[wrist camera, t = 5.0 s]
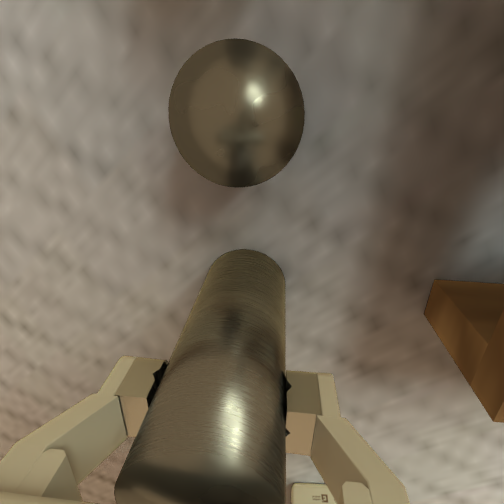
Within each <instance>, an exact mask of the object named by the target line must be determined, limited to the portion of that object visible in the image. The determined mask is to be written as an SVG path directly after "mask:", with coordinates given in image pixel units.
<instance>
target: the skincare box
mask: <svg viewBox="0 0 504 504" xmlns="http://www.w3.org/2000/svg"><path fill="white" fill-rule="evenodd" d="M291 504H337V503H336V501H335V499H334V497H333V496H332V494H331V492H330V491H329V489H328V487H327V485H326V484H309V483H295V484H293V486H292V489H291Z"/></svg>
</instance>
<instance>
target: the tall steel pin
mask: <svg viewBox="0 0 504 504" xmlns="http://www.w3.org/2000/svg"><path fill="white" fill-rule="evenodd" d="M285 377H286V364H285V278H284V275H283V273H282V270H281V269H280V267H279V266H278V265H277V263H276V262H275V261H274V260H272V259H271V258H270V257H268V256H267V255H265V254H263V253H260V252H258V251H254V250H247V249H240V250H234V251H230V252H228V253H225V254H224V255H222V256H221V257H219V258H218V259H217V260H216V261H215V262H214V263H213V265H212V266H211V268H210V270H209V272H208V274H207V277H206V279H205V281H204V284H203V286H202V288H201V290H200V293H199V295H198V297H197V299H196V302H195V304H194V306H193V308H192V311H191V313H190V315H189V318H188V320H187V322H186V324H185V327H184V329H183V331H182V333H181V336H180V338H179V340H178V342H177V345H176V347H175V349H174V352H173V354H172V356H171V358H170V361H169V363H168V365H167V367H166V370H165V372H164V374H163V377H162V379H161V381H160V383H159V386H158V388H157V390H156V392H155V395H154V397H153V399H152V401H151V404H150V406H149V408H148V411H147V413H146V415H145V417H144V420H143V422H142V424H141V426H140V429H139V431H138V433H137V436H136V438H135V440H134V442H133V445H132V447H131V449H130V451H129V454H128V456H127V458H126V460H125V463H124V465H123V467H122V470H121V472H120V474H119V476H118V479H117V481H116V484H115V490H114V494H115V500H116V502H117V504H286V426H285V405H286V395H285Z"/></svg>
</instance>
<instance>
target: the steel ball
mask: <svg viewBox="0 0 504 504" xmlns="http://www.w3.org/2000/svg"><path fill="white" fill-rule="evenodd" d="M304 115H305V111H304V101H303V97H302V93H301V90H300V87H299V84H298V82H297V80H296V78H295V76H294V74H293V72H292V71H291V69H290V68H289V67H288V65H287V64H286V63H285V62H284V61H283V60H282V59H281V57H279V56H278V55H277V54H276V53H275V52H273V51H272V50H270V49H269V48H267V47H265V46H263V45H261V44H259V43H256V42H253V41H249V40H245V39H225V40H220V41H216V42H214V43H211V44H209V45H207V46H205V47H203V48H201V49H200V50H198V51H197V52H196V53H195V54H193V55H192V56H191V57H190V58H189V59H188V60H187V61H186V63H185V64H184V65H183V67H182V68H181V69H180V71H179V73H178V75H177V77H176V79H175V81H174V84H173V86H172V89H171V94H170V98H169V123H170V129H171V133H172V136H173V139H174V141H175V144H176V146H177V148H178V150H179V152H180V154H181V155H182V156H183V158H184V159H185V161H186V162H187V163H188V164H189V165H190V166H191V167H192V168H193V169H194V170H195V171H196V172H197V173H199V174H200V175H201V176H203V177H204V178H206V179H208V180H210V181H212V182H214V183H217V184H219V185H224V186H228V187H248V186H253V185H257V184H260V183H262V182H264V181H267V180H268V179H270V178H272V177H273V176H275V175H276V174H277V173H279V172H280V171H281V170H282V169H283V168H284V167H285V166H286V165H287V164H288V162H289V161H290V160H291V158H292V157H293V155H294V153H295V152H296V150H297V148H298V145H299V143H300V140H301V137H302V133H303V127H304Z"/></svg>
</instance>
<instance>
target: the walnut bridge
mask: <svg viewBox="0 0 504 504" xmlns="http://www.w3.org/2000/svg"><path fill="white" fill-rule="evenodd" d="M424 315H425V316H426V318H427V320H428V321H429V323H430V324H431V326H432V327H433V329H434V330H435V332H436V334H437V335H438V337H439V338H440V340H441V341H442V343H443V344H444V346H445V347H446V349H447V351H448V352H449V354H450V355H451V357H452V358H453V360H454V361H455V363H456V365H457V366H458V368H459V369H460V371H461V372H462V374H463V375H464V377H465V379H466V380H467V382H468V383H469V385H470V386H471V388H472V389H473V391H474V392H475V394H476V396H477V397H478V399H479V400H480V402H481V403H482V405H483V406H484V408H485V410H486V411H487V413H488V414H489V416H490V417H491V419H492V420H493V422H504V284H497V283H481V282H465V281H450V280H434V283H433V286H432V289H431V293H430V296H429V299H428V302H427V306H426V309H425V312H424Z"/></svg>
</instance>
